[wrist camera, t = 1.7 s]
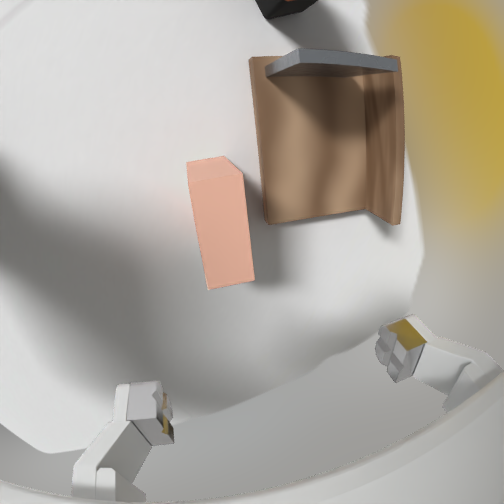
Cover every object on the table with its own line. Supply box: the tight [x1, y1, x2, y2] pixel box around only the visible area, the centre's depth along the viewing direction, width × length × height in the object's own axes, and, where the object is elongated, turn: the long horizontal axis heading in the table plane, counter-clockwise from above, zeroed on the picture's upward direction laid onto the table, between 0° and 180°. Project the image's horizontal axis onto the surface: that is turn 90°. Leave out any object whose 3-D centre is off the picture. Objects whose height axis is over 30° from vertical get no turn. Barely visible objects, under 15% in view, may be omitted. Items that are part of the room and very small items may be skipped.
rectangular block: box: [186, 156, 255, 290], centre depth 24 cm, size 4×8×9 cm, turn 6°
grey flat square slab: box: [265, 48, 398, 78], centre depth 19 cm, size 8×1×8 cm, turn 96°
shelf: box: [249, 55, 405, 226], centre depth 24 cm, size 12×16×6 cm
